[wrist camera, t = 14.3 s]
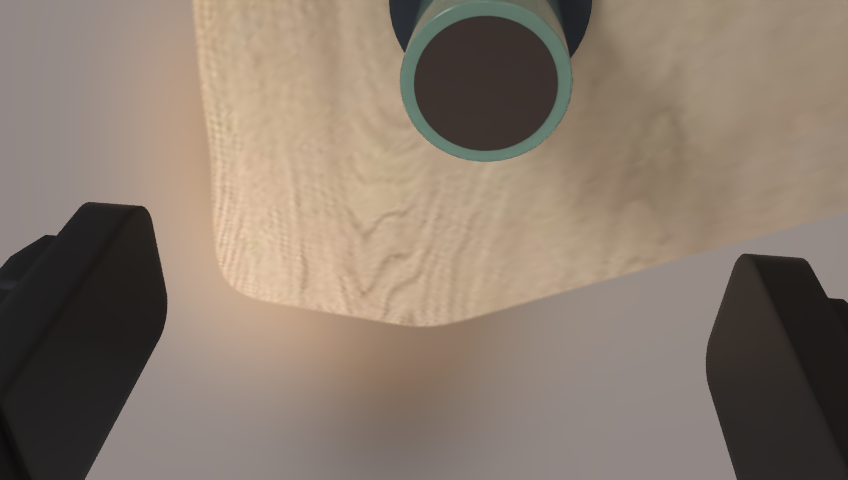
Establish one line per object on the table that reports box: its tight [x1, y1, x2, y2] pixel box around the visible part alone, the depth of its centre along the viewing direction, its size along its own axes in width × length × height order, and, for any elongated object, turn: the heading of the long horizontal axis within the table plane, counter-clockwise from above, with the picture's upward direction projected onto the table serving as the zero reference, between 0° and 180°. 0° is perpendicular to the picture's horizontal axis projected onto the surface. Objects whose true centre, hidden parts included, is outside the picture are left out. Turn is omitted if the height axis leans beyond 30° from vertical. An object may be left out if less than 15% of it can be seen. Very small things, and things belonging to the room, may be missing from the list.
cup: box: [400, 0, 573, 162], centre depth 30 cm, size 6×6×9 cm
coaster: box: [389, 0, 592, 58], centre depth 34 cm, size 9×9×1 cm
